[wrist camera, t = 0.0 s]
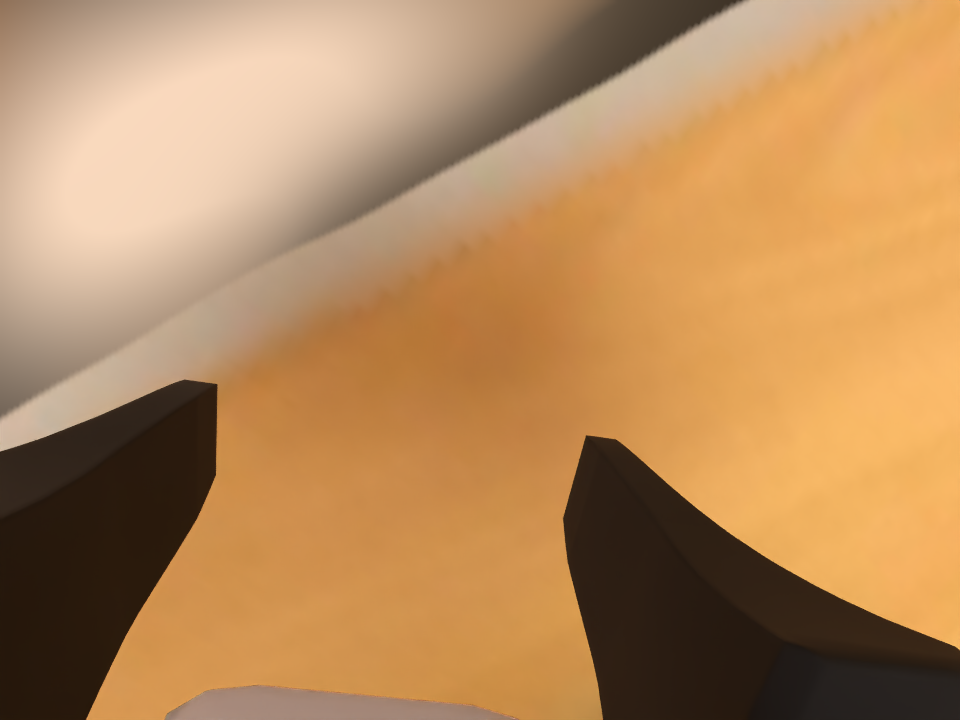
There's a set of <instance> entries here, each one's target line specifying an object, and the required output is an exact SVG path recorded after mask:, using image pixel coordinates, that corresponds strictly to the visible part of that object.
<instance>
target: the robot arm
mask: <svg viewBox="0 0 960 720" xmlns="http://www.w3.org/2000/svg"><path fill="white" fill-rule="evenodd" d="M216 436H217V384H212V383H205V382H198V381H190V380H182V381H179V382H176V383H173V384H171V385H168V386H166V387H163V388H161V389H159V390H156V391H154V392H152V393H150V394H147V395H145V396H143V397H141V398H139V399H136V400H134V401H132V402H129V403H127V404H125V405H123V406H120V407H118V408H116V409H114V410H111V411H109V412H107V413H105V414H102V415H100V416H98V417H95V418H93V419H90V420H87V421H85V422H82V423H80V424H77V425H75V426H72V427H70V428H67V429H65V430H62V431H59V432H57V433H54V434H52V435H49V436H47V437H44V438H41V439H38V440H35V441H32V442H29V443H26V444H23V445H20V446H17V447H14V448H11V449H7V450H4V451H1V452H0V720H86V718H87V716H88V714H89V712H90V710H91V708H92V705H93V703H94V701H95V699H96V697H97V694H98V692H99V690H100V688H101V686H102V684H103V682H104V680H105V677H106V675H107V673H108V671H109V669H110V667H111V665H112V663H113V661H114V659H115V657H116V655H117V653H118V650H119V648H120V646H121V644H122V642H123V640H124V638H125V636H126V634H127V633H128V631H129V629H130V627H131V626H132V624H133V622H134V620H135V618H136V617H137V615H138V613H139V612H140V610H141V608H142V607H143V605H144V604H145V602H146V600H147V599H148V597H149V596H150V594H151V592H152V591H153V589H154V588H155V586H156V584H157V583H158V581H159V580H160V578H161V576H162V575H163V573H164V572H165V570H166V568H167V567H168V565H169V564H170V562H171V560H172V559H173V557H174V556H175V554H176V552H177V551H178V549H179V547H180V546H181V544H182V542H183V541H184V539H185V538H186V536H187V534H188V533H189V531H190V529H191V528H192V526H193V524H194V523H195V521H196V519H197V517H198V515H199V513H200V511H201V509H202V506H203V504H204V502H205V500H206V497H207V495H208V493H209V490H210V488H211V485H212V483H213V481H214V478H215V476H216ZM563 522H564V533H565V543H566V551H567V560H568V565H569V569H570V573H571V577H572V581H573V585H574V589H575V593H576V597H577V601H578V605H579V609H580V613H581V616H582V620H583V624H584V628H585V632H586V636H587V639H588V643H589V647H590V651H591V655H592V659H593V663H594V667H595V672H596V677H597V682H598V687H599V694H600V701H601V707H602V714H603V720H960V650H959V649H958V648H956V647H955V646H952V645H950V644H947V643H945V642H942V641H939V640H937V639H934V638H932V637H929V636H927V635H924V634H922V633H919V632H917V631H914V630H912V629H909V628H906V627H904V626H901V625H899V624H896V623H894V622H891V621H889V620H886V619H884V618H882V617H879V616H877V615H875V614H873V613H871V612H868V611H866V610H864V609H862V608H860V607H858V606H855V605H853V604H851V603H849V602H847V601H845V600H843V599H840V598H838V597H836V596H835V595H833V594H831V593H829V592H827V591H825V590H823V589H821V588H819V587H817V586H815V585H813V584H811V583H809V582H808V581H806V580H804V579H802V578H800V577H799V576H797V575H795V574H793V573H791V572H790V571H788V570H786V569H784V568H783V567H781V566H779V565H777V564H776V563H774V562H772V561H771V560H769V559H768V558H766V557H764V556H763V555H761V554H760V553H758V552H757V551H755V550H754V549H752V548H751V547H749V546H748V545H746V544H745V543H743V542H742V541H740V540H739V539H737V538H735V537H734V536H733V535H731V534H730V533H728V532H727V531H726V530H724V529H723V528H721V527H720V526H719V525H717V524H716V523H715V522H714V521H712V520H711V519H710V518H708V517H707V516H706V515H705V514H703V513H702V512H701V511H699V510H698V509H697V508H696V507H694V506H693V505H692V504H691V503H690V502H688V501H687V500H686V499H685V498H683V497H682V496H681V495H680V494H679V493H678V492H676V491H675V490H674V489H673V488H672V487H671V486H670V485H668V484H667V483H666V482H665V481H664V480H663V479H662V478H660V477H659V476H658V475H657V474H656V473H655V472H654V471H653V470H651V469H650V468H649V467H648V466H647V465H646V464H645V463H644V462H643V461H641V460H640V459H639V458H638V457H637V456H636V455H635V454H633V453H632V452H631V451H630V450H629V449H628V448H626V447H625V446H624V445H623V444H621V443H620V442H619V441H617V440H616V439H609V438H602V437H595V436H587V435H586V438H585V441H584V445H583V449H582V452H581V456H580V459H579V463H578V467H577V470H576V474H575V477H574V481H573V485H572V488H571V492H570V495H569V499H568V503H567V506H566V510H565V514H564V517H563ZM165 720H518V719H516V718H514V717H511V716H508V715H505V714H501V713H498V712H494V711H491V710H488V709H484V708H481V707H478V706H474V705H467V704H456V703H446V702H435V701H424V700H414V699H403V698H392V697H381V696H371V695H360V694H349V693H339V692H328V691H317V690H307V689H296V688H285V687H275V686H264V685H254V686H244V687H233V688H222V689H212V690H208V691H205V692H203V693H201V694H200V695H198V696H196V697H195V698H193V699H191V700H189V701H188V702H186V703H184V704H183V705H181V706H179V707H178V708H176V709H174V710H172V711H171V712H169V713H167V715H166V718H165Z"/></svg>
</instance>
